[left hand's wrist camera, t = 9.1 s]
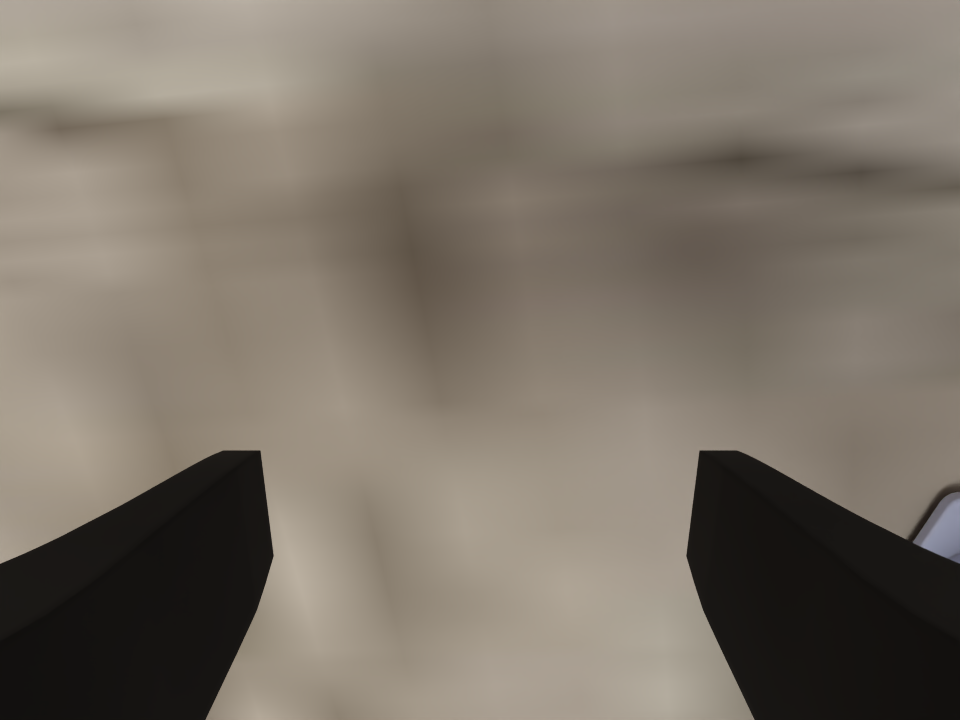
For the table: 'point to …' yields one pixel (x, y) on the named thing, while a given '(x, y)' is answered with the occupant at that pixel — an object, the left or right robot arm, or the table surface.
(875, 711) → the left robot arm
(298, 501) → the table surface
